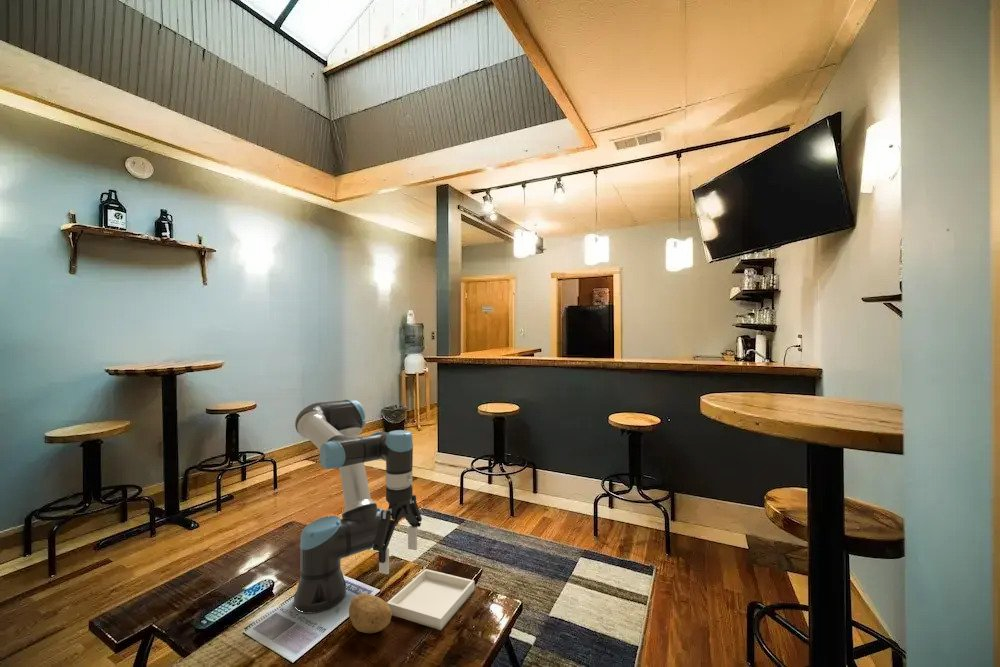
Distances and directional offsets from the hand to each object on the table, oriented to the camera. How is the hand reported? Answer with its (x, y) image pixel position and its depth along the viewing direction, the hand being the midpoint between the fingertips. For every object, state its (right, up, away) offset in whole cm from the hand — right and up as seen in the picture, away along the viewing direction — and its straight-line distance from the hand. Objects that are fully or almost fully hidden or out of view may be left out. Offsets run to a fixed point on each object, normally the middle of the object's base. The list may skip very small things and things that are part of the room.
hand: (399, 560), depth 113 cm
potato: (-7, -18, -3) cm, 19 cm away
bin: (+8, -18, +8) cm, 21 cm away
